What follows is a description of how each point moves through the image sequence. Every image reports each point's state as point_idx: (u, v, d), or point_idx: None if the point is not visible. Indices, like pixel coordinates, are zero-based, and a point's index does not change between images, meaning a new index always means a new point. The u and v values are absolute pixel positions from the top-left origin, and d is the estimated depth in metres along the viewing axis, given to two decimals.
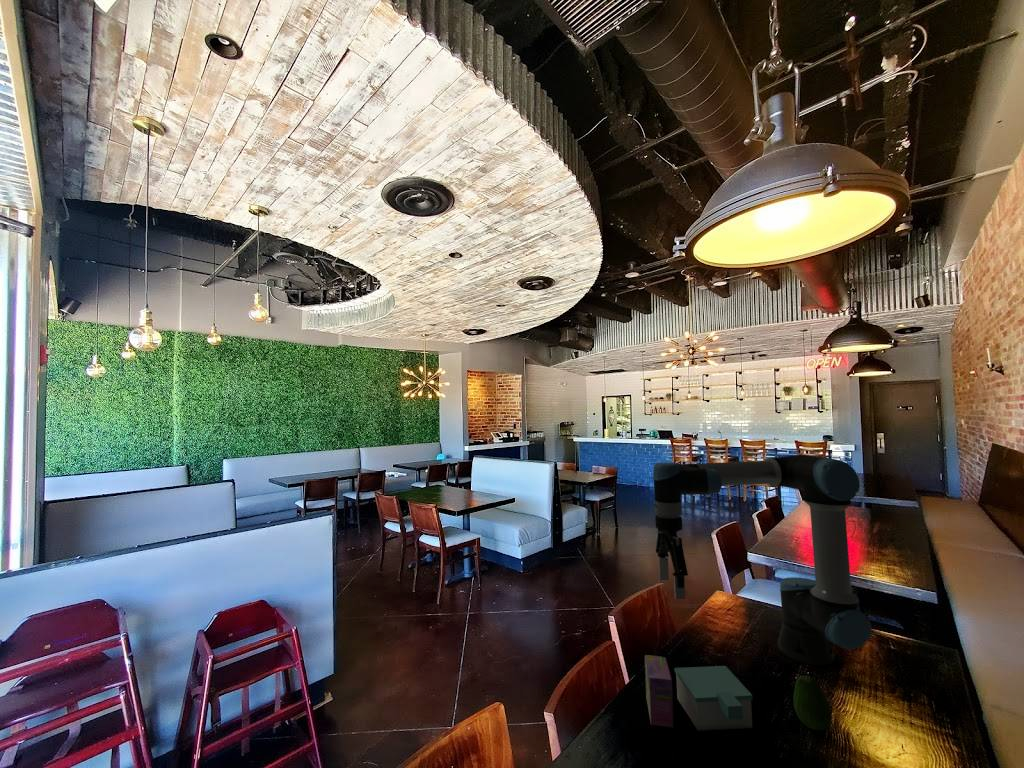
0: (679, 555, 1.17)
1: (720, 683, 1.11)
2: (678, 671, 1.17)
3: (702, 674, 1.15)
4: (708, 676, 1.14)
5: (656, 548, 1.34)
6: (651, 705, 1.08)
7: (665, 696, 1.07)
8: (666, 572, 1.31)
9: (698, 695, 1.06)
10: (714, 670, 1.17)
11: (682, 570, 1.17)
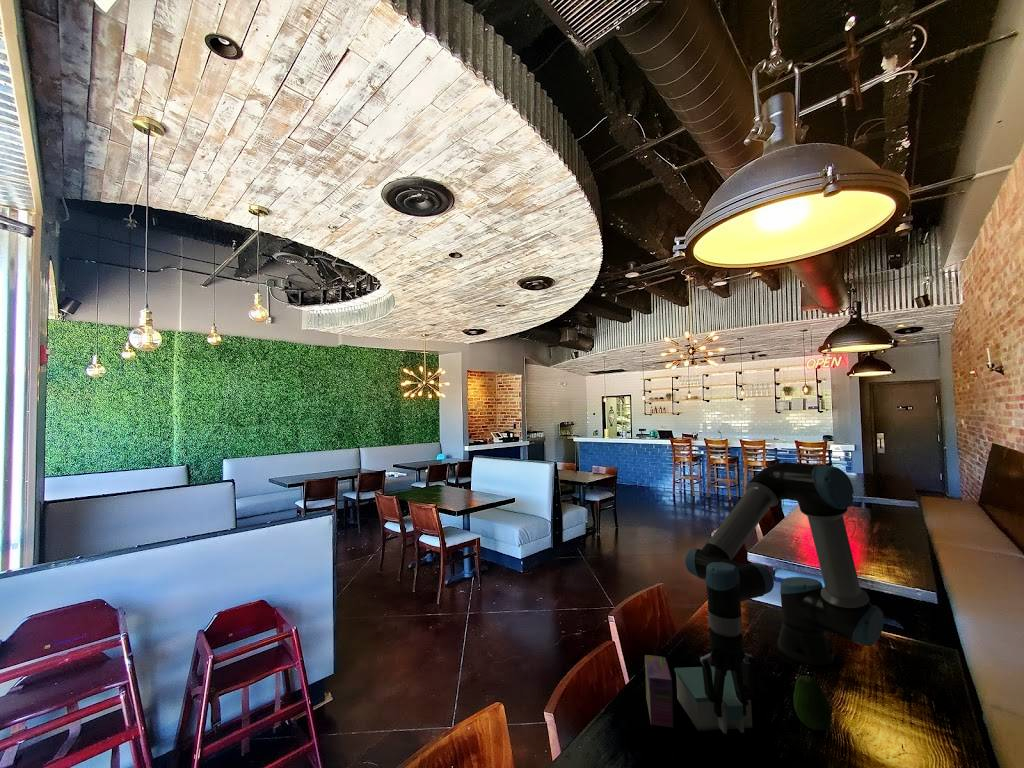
0: (705, 677, 1.04)
1: None
2: (678, 671, 1.17)
3: (702, 674, 1.15)
4: None
5: None
6: (651, 705, 1.08)
7: (665, 696, 1.07)
8: (739, 720, 1.02)
9: (698, 695, 1.06)
10: (714, 670, 1.17)
11: None
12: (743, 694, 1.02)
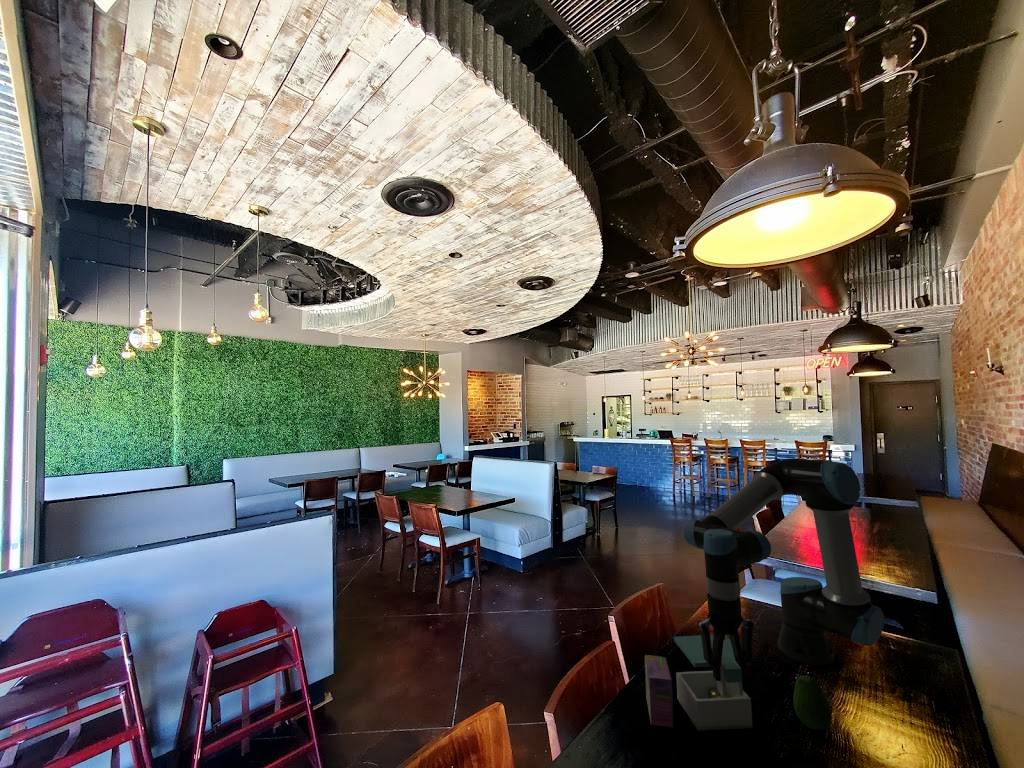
0: (704, 641, 1.04)
1: None
2: (677, 639, 1.17)
3: (701, 642, 1.16)
4: None
5: (744, 652, 1.06)
6: (651, 705, 1.08)
7: (665, 696, 1.07)
8: (737, 684, 1.03)
9: (697, 660, 1.07)
10: None
11: None
12: (741, 658, 1.03)
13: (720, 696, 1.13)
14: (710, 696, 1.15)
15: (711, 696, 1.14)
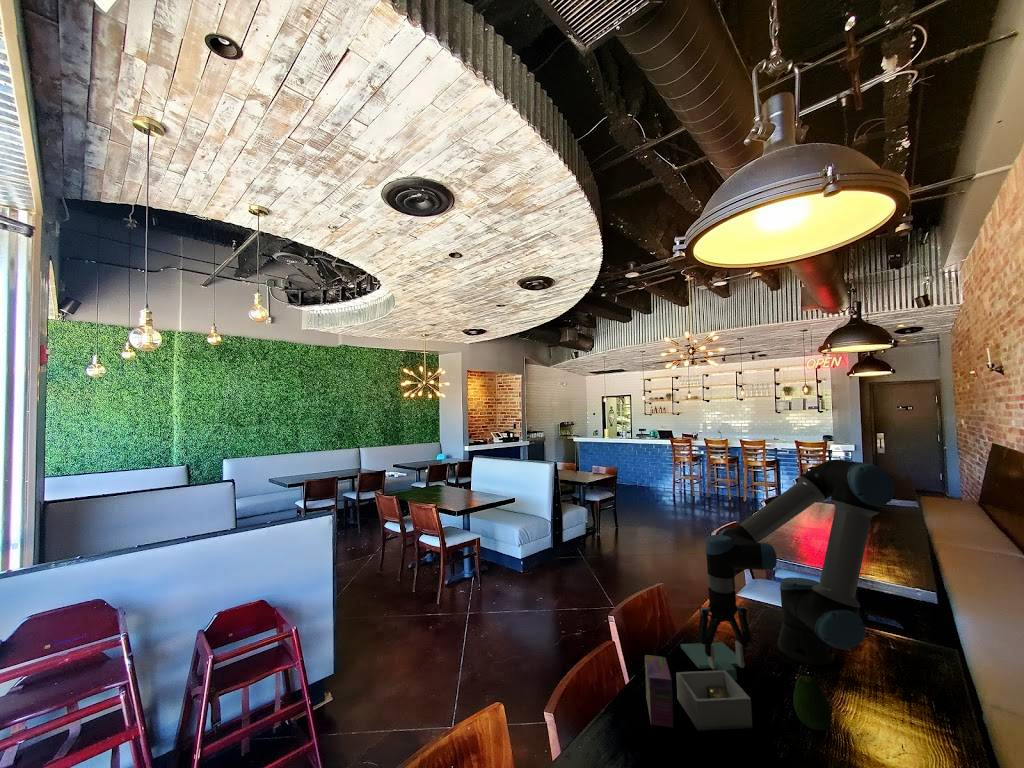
0: (701, 624, 1.28)
1: (718, 654, 1.35)
2: (683, 646, 1.40)
3: (703, 648, 1.39)
4: None
5: None
6: (651, 705, 1.08)
7: (665, 696, 1.07)
8: (739, 659, 1.27)
9: (700, 663, 1.30)
10: (713, 645, 1.41)
11: (708, 640, 1.27)
12: (742, 637, 1.27)
13: (716, 689, 1.15)
14: (709, 695, 1.16)
15: (709, 693, 1.15)
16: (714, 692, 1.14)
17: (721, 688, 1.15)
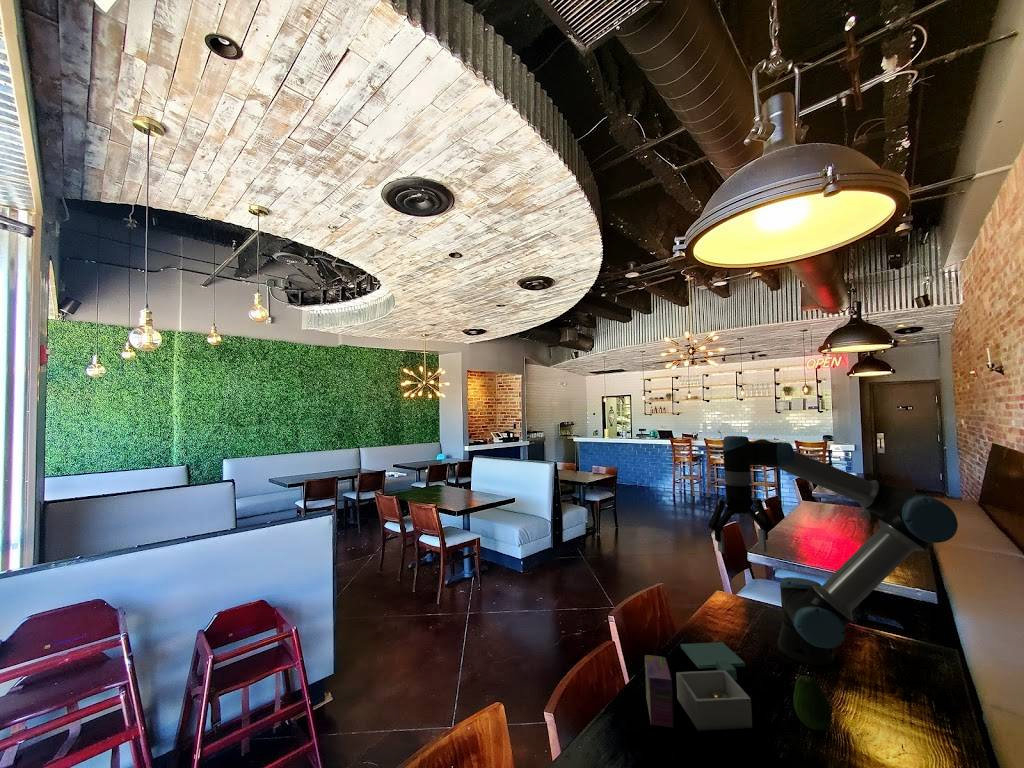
0: (715, 513, 1.35)
1: (718, 654, 1.35)
2: (683, 646, 1.40)
3: (703, 648, 1.39)
4: (708, 649, 1.38)
5: None
6: (651, 705, 1.08)
7: (665, 696, 1.07)
8: (762, 543, 1.35)
9: (700, 663, 1.30)
10: (713, 645, 1.41)
11: None
12: (763, 524, 1.35)
13: None
14: (712, 697, 1.14)
15: None
16: None
17: None
